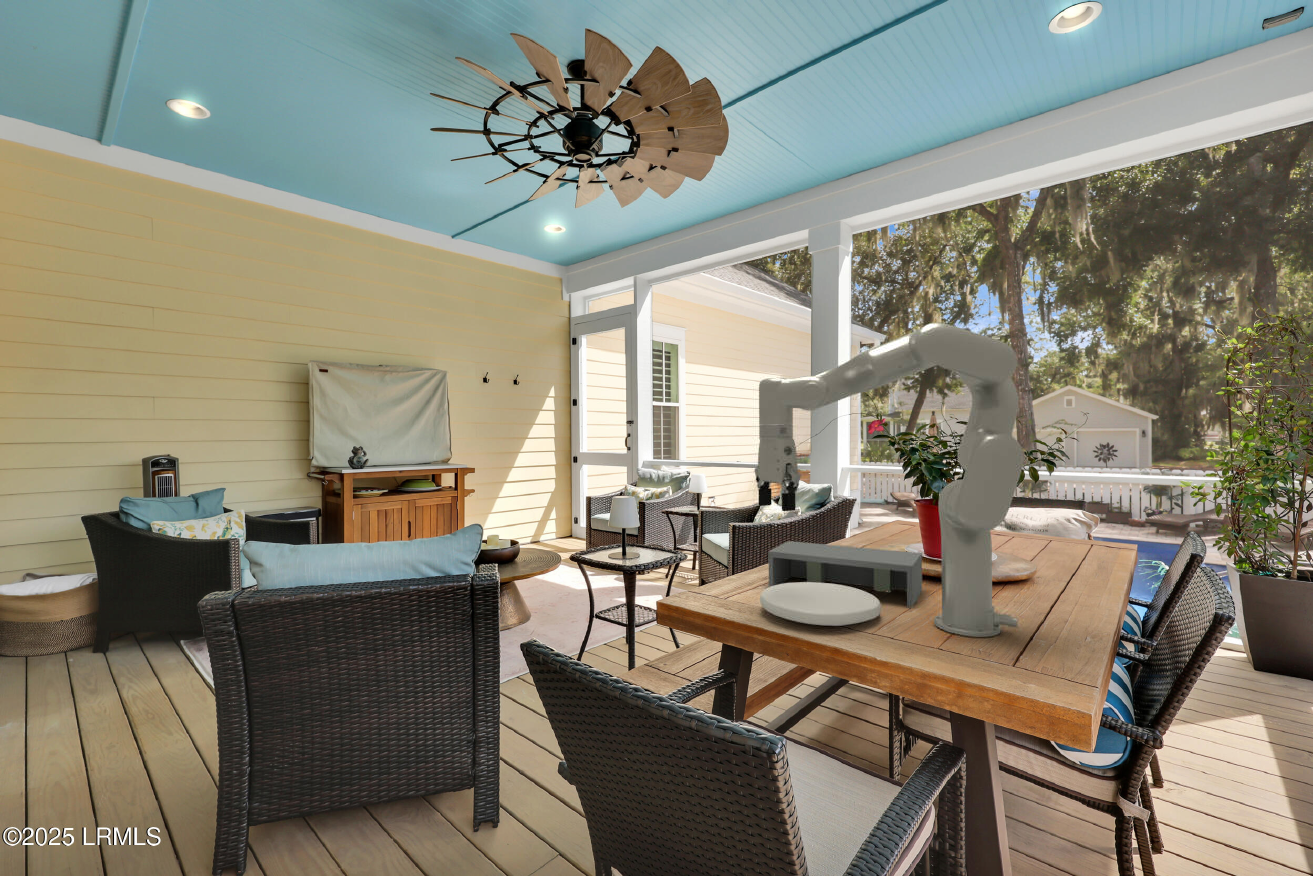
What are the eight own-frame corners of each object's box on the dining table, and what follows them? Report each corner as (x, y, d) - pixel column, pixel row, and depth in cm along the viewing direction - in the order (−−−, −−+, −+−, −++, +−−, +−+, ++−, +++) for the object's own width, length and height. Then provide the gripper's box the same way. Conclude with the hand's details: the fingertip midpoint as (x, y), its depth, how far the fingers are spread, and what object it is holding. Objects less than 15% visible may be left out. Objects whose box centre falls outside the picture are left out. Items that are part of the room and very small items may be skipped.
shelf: (922, 591, 153) (921, 553, 153) (912, 607, 139) (912, 566, 139) (788, 575, 172) (788, 541, 172) (768, 588, 158) (768, 551, 158)
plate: (791, 573, 155) (895, 589, 139) (790, 598, 155) (895, 617, 139) (739, 586, 133) (856, 606, 117) (738, 615, 133) (855, 640, 116)
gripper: (812, 432, 126) (813, 512, 126) (769, 432, 142) (770, 502, 142) (783, 433, 123) (783, 514, 124) (742, 432, 139) (743, 504, 140)
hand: (776, 508), depth 133 cm, fingers open, 9 cm apart
